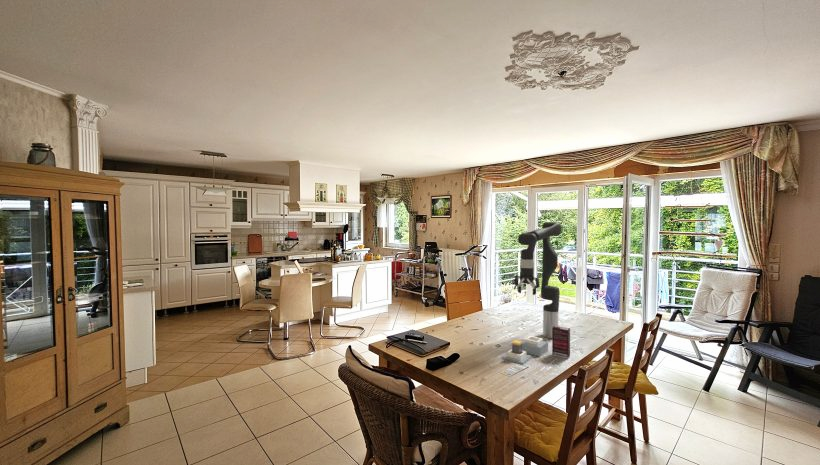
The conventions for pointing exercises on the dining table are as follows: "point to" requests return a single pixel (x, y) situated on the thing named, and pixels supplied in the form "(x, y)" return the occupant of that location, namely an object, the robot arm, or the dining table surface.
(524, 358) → the plate
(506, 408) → the dining table surface
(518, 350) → the plug
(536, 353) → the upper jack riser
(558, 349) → the supplement box
